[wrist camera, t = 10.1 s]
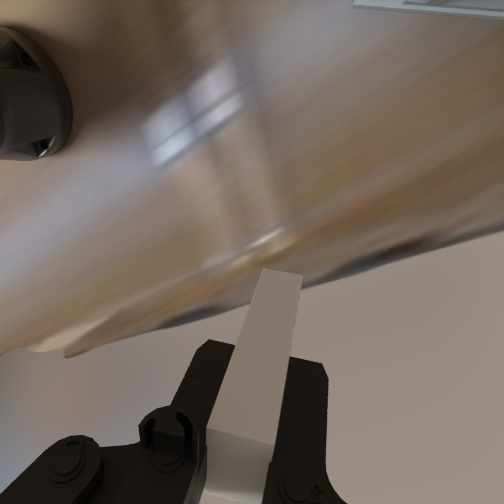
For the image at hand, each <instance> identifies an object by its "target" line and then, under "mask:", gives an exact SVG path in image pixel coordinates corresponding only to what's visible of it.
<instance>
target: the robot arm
mask: <svg viewBox="0 0 504 504" xmlns="http://www.w3.org/2000/svg"><path fill="white" fill-rule="evenodd" d="M71 125H72V107H71V101H70V97H69V93H68V90H67V87H66V84H65V82H64V80H63V78H62V76H61V74H60V72H59V70H58V69H57V67H56V65H55V64H54V62H53V61H52V60H51V58H50V57H49V56H48V55H47V54H46V52H45V51H44V50H43V49H42V48H41V47H40V46H39V45H38V44H36V43H35V42H34V41H33V40H32V39H30V38H29V37H27V36H26V35H24V34H22V33H20V32H18V31H16V30H14V29H11V28H7V27H2V26H0V160H17V161H31V160H37V159H40V158H43V157H46V156H49V155H51V154H53V153H55V152H57V151H58V150H59V149H60V148H61V147H62V146H63V145H64V144H65V142H66V140H67V139H68V136H69V134H70V130H71ZM302 279H303V276H302V275H296V274H291V273H286V272H281V271H275V270H270V269H265V268H263V270H262V272H261V275H260V278H259V281H258V284H257V286H256V289H255V292H254V295H253V298H252V300H251V303H250V306H249V309H248V312H247V315H246V317H245V320H244V323H243V326H242V329H241V331H240V334H239V337H238V340H237V343H236V345H232V344H228V343H223V342H219V341H214V340H210V339H209V340H207V342H205V343H204V344H203V345H202V346H201V347H199V348H198V349H197V350H196V353H195V355H194V357H193V359H192V361H191V363H190V366H189V367H188V369H187V371H186V373H185V377H184V378H183V380H182V382H181V384H180V386H179V388H178V390H177V392H176V394H175V396H174V398H173V400H172V403H171V405H170V406H165V407H161V408H157V409H155V410H154V411H152V412H151V413H149V414H148V415H146V416H145V417H144V419H143V420H142V421H141V423H140V424H139V425H138V427H139V435H140V442H137V443H135V444H129V445H122V446H109V447H99V445H98V444H97V443H96V442H95V441H94V439H93V438H90V437H87V436H84V435H76V436H69V437H66V438H64V439H61V440H59V441H57V442H56V443H54V444H53V445H52V446H50V447H49V448H48V449H46V450H45V451H44V452H43V453H42V454H41V455H40V456H39V457H38V458H37V459H36V460H35V461H34V462H33V463H32V464H31V465H30V466H29V467H28V468H27V469H26V470H25V471H23V473H21V474H20V475H19V476H18V477H17V478H16V479H15V480H14V481H13V482H12V483H11V484H10V485H9V486H8V487H7V488H6V489H5V490H4V491H3V492H2V493H1V494H0V504H199V501H200V498H201V495H202V492H203V489H204V492H205V493H208V494H212V495H215V496H219V497H222V498H225V499H229V500H233V501H236V502H239V503H243V504H347V503H346V502H344V501H343V500H342V499H341V498H340V497H339V495H338V494H337V493H336V492H335V490H334V489H333V487H332V485H331V483H330V481H329V479H328V475H327V472H326V463H325V462H326V435H327V408H328V380H329V379H328V377H327V374H326V372H325V369H324V367H323V365H322V363H317V362H313V361H308V360H304V359H299V358H295V357H290V351H291V345H292V339H293V333H294V327H295V321H296V315H297V309H298V302H299V297H300V291H301V285H302Z"/></svg>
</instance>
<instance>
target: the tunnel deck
mask: <svg viewBox="0 0 504 504" xmlns="http://www.w3.org/2000/svg"><path fill="white" fill-rule="evenodd" d="M353 8H363V9H376V10H388V11H400V12H413V13H425V14H437V15H449V16H462V17H474V18H486V19H499V20H504V0H354V4H353Z"/></svg>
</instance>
